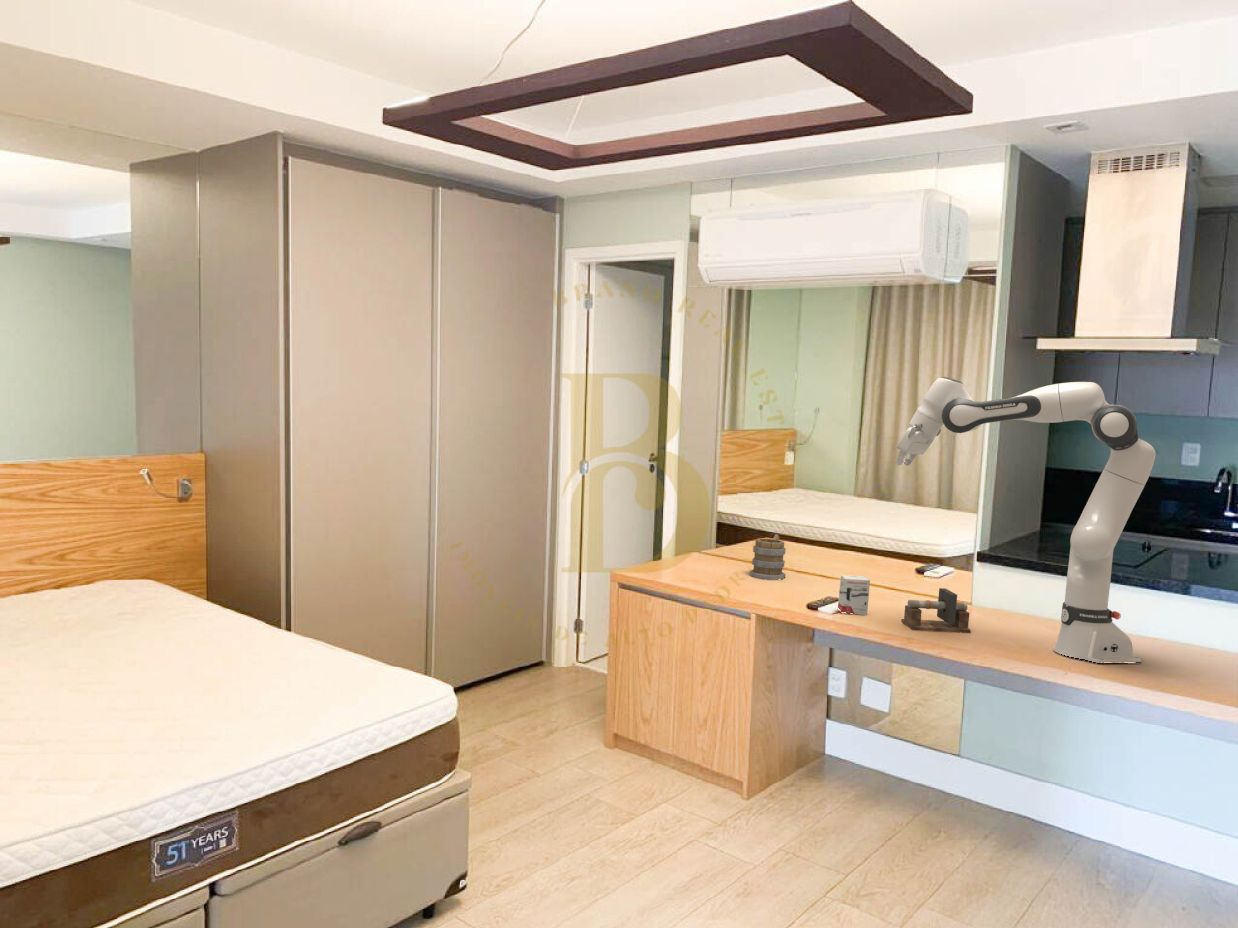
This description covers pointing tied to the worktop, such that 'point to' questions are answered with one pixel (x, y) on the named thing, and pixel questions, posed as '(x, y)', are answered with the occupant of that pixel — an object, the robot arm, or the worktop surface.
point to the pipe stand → (915, 623)
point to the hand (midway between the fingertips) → (902, 464)
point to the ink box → (854, 594)
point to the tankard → (768, 559)
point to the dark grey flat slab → (947, 605)
